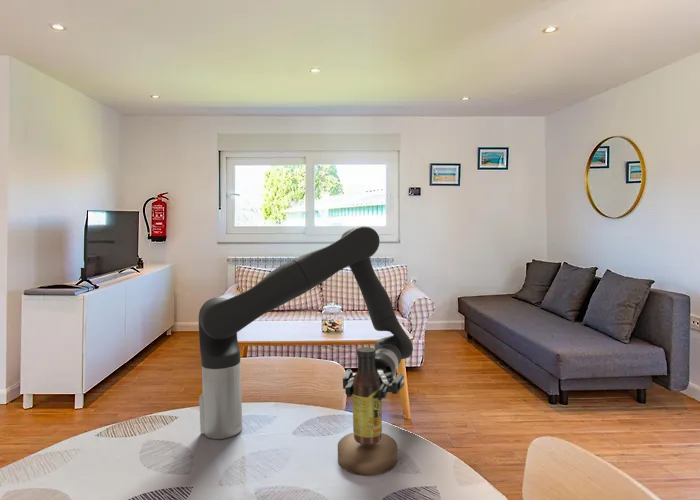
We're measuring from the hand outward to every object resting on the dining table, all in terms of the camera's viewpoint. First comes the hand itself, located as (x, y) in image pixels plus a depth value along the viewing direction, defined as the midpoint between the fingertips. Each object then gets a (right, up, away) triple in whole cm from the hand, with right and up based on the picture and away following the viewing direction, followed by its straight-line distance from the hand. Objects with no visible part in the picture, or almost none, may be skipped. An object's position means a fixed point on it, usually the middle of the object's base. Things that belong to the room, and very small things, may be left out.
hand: (364, 394), depth 91 cm
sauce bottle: (+1, -11, +3) cm, 11 cm away
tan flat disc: (+1, -15, +3) cm, 15 cm away
